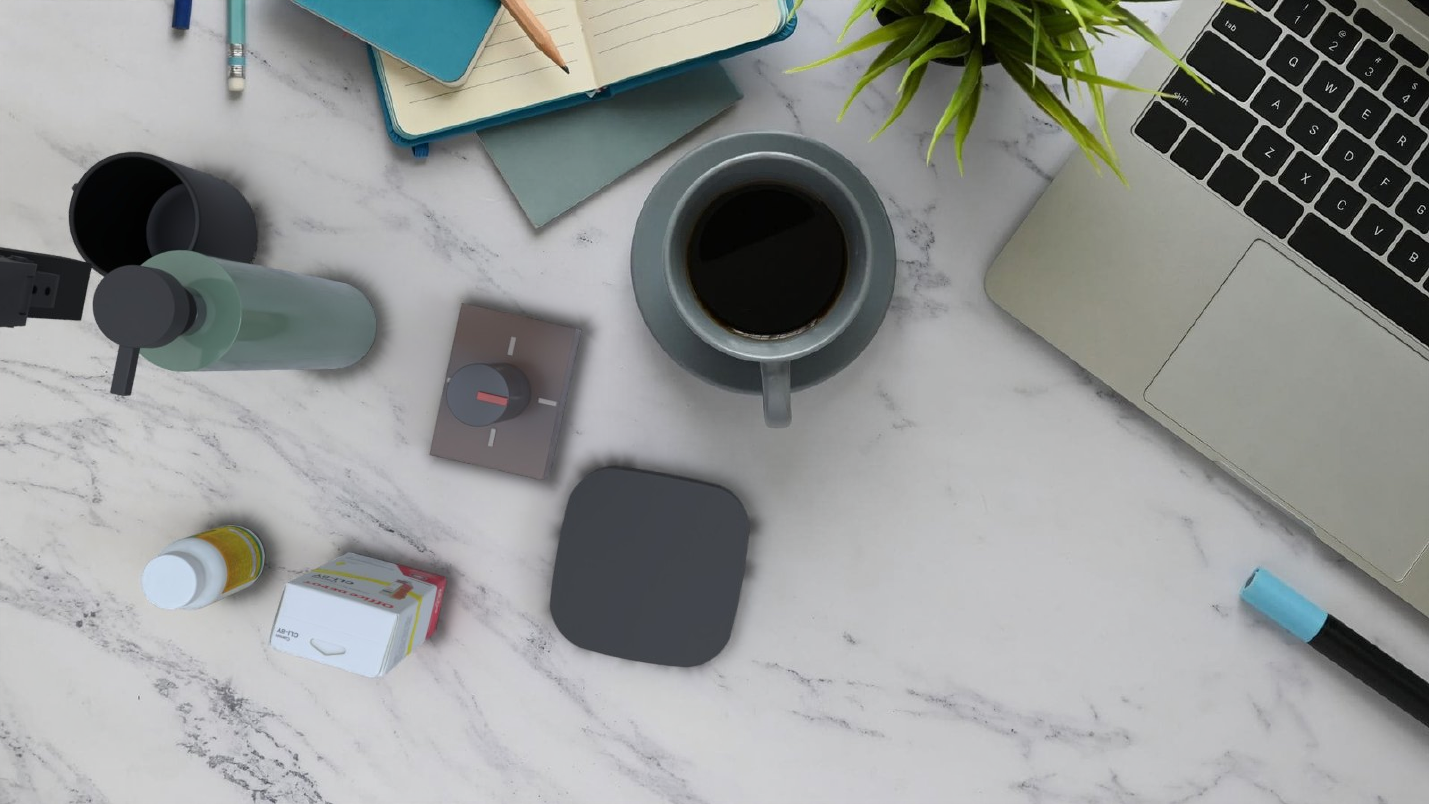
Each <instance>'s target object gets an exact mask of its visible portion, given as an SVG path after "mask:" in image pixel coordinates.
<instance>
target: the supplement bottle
mask: <svg viewBox="0 0 1429 804" xmlns="http://www.w3.org/2000/svg"><path fill="white" fill-rule="evenodd" d="M265 555H266V554H265V549H264V546H263V544H262V542H261V540H260V538H259V537H258V536H257V535H256V534H255V533H254V532H253V531H252V530H251V529H248V528H246V527H244V526H241V525H235V524H227V525H221V526H218V527H214V528H212V529H209V530H205V531H201V532H199V533H196V534H192V535H190V536H186V537H183V538H179V539H177V540H175V541H173V542H171V543H169V544H167V546H165V547H164V548H163V549H161V551H160V552H159V554H158V555H157V556H155V557H154V558H152V559H151V560H150V561H148V563H147V564H146V565H145V567H144V568H143V571H142V574H141V577H140V585H141V590H142V592H143V595H144V597H145V598H146V599H147V600H148V601H149V603H150V604H152V605H153V606H155V607H157V608H159V609H161V610H167V611H169V610H170V611H172V610H177V609H179V610H185V611H193V610H195V611H196V610H199V609H203V608H206V607H208V606H210V605H212V604H214V603H216V602H219V601H221V600H223V599H226V598H228V597H229V596H232V595H234V594H236V593H238V592H240V591H242V590H245V589H247V588H248V587H250V586H252V585H253V584H254V583H255V582H256V581H257V580H258V579H259V577H260V576H261V574H262V573H263V570H264V565H265V561H266V560H265V559H266V558H265V557H266V556H265Z"/></svg>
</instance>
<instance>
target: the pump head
mask: <svg viewBox="0 0 1429 804" xmlns="http://www.w3.org/2000/svg"><path fill="white" fill-rule="evenodd" d="M92 314H93V318H94V321H95V323H96V325H97V327H98V329H99V331H100V332H101V333H102V334H103V335H104V336H105V337H106V338H107V339H108V340H109V341H110V342H112V343H114V344H116V345H118V349H117V354H116V360H115V365H114V369H113V373H112V374H113V375H112V381H111V384H110V385H111V386H110V389H109V393H110V394H112V395H117V396H121V397H130V396H132V392H133V389H134V388H133V387H134V381H135V377H136V371H137V367H138V362H139V358H140V353H139V352H140V348H151V349H152V348H159V347H163V346H165V345H167V344H169V343H171V342H172V341H174V340H175V339H176V338H177V337H178V336H179V335H180V334H181V333H182V331H183V330H184V328H185V326H186V324H187V321H188V318H189V300H188V297H187V294H186V291H185V290H184V288H183V286H182V285H181V283H180V282H179V281H178V280H177V279H176V278H175V277H174V276H172V275H171V274H169V273H168V272H166V271H163V270H161V269H157V268H151V267H145V266H139V265H127V266H122V267H119V268H117V269H114V270H113V271H111V272H110V273H108V274H107V275H106V276H105V277H104V276H103V278H101V280H100V281H99V283H98V285H97V286H96V287H95V290H94V293H93V297H92Z"/></svg>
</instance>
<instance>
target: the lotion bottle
mask: <svg viewBox="0 0 1429 804" xmlns="http://www.w3.org/2000/svg"><path fill="white" fill-rule="evenodd" d="M141 266H145V267H151V268H157V269H161V270H163V271H166V272H168V273H169V274H171V275H172V276H174V277H175V278H176V279H177V280H178V281H179V282H180V283H181V285H182V286H183V288H184V290H185V291H186V294H187V297H188V300H189V318H188V321H187V324H186V326H185V328H184V330H183V331H182V333H181V334H180V335H179V336H178V337H177V338H176V339H175V340H174V341H172V342H171V343H169V344H167V345H165V346H163V347H159V348H152V349H151V348H140V352H139V355H140V356H141V357H142V358H144V359H145V360H146V361H148V362H149V363H151V364H153V365H155V366H157V367H159V368H161V369H164V370H167V371H171V372H179V373H180V372H181V373H182V372H183V373H186V372H187V373H189V372H191V373H194V372H195V373H196V372H241V371H242V372H245V371H246V372H247V371H249V372H250V371H252V372H253V371H296V370H297V371H298V370H299V371H301V370H339V369H344V368H348V367H351V366H352V365H355V364H356V363H358V362H359V361H361V360H362V359H363V358H364V357H365V356H366V355H367V354H368V353H369V351H370V349H371V348H372V346H373V344H374V341H375V338H376V335H377V317H376V313H375V310H374V308H373V306H372V304H371V302H370V300H369V299H368V297H366V295H365V294H364V293H363V292H362V291H360V290H359V289H358V288H356V287H355V286H353V285H351V284H348V283H345V282H342V281H337V280H332V279H327V278H324V277H319V276H313V275H309V274H304V273H298V272H293V271H290V270H284V269H279V268H275V267H270V266H265V265H260V264H255V263H252V262H251V263H246V262H241V261H237V260H232V259H227V258H222V257H217V256H212V255H208V254H203V253H198V252H193V251H187V250H175V251H168V252H164V253H161V254H158V255H156V256H154V257H152V258H150V259H148V260H147V261H146V262H144V263H143V264H142V265H141Z"/></svg>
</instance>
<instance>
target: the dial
mask: <svg viewBox="0 0 1429 804" xmlns="http://www.w3.org/2000/svg"><path fill="white" fill-rule="evenodd" d="M446 399H447V404H448V406H449V409H450V411H451V412H452V414H453V415H454V416H455V417H456V418H457V419H458V420H459V421H461V422H462V423H464V424H466V425H469V426H474V427H482V426H487V425H491V424H494V423H498V422H502V421H506V420H509V419H512V418H515V417H517V416H518V415H520V414H521V413H522V412H523V411H524V410H525V408H526V407H527V405H528V403H529V399H530V385H529V382H528V379H527V378H526V376H525V375H524V373H523V372H522V371H521V370H520V369H518V368H517V367H515V366H513V365H510V364H505V363H476V364H469V365H466V366H464V367H462V368H460V369H459V370H458V371H457V372H455V373H454V375H453V376H452V377H451V379H450V381H449V383H448V386H447V391H446Z"/></svg>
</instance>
